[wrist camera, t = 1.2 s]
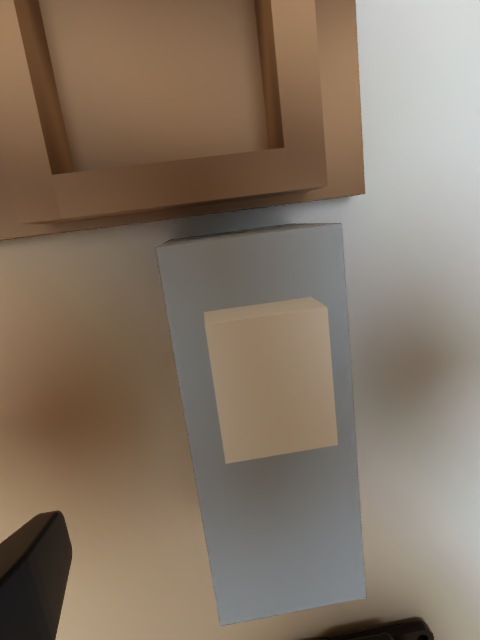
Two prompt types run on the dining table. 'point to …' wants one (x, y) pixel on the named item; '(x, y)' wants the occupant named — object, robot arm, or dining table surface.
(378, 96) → the dining table surface
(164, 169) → the jig
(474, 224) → the dining table surface
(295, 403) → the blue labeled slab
